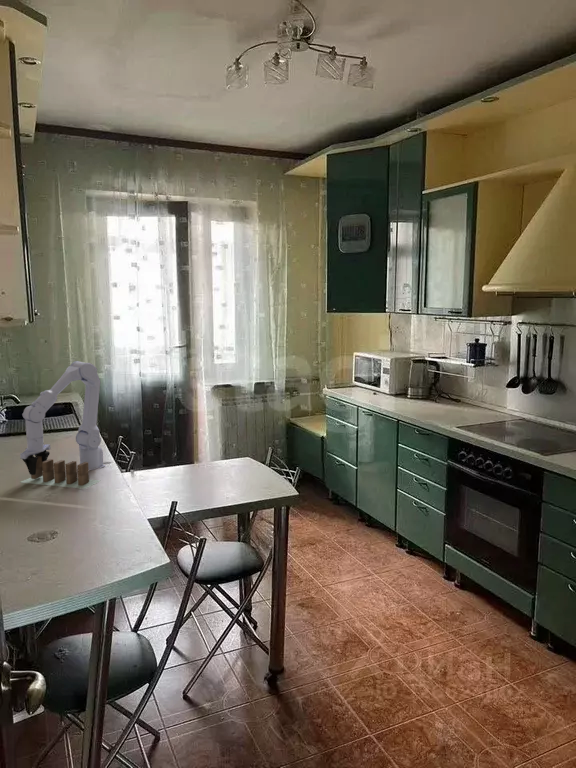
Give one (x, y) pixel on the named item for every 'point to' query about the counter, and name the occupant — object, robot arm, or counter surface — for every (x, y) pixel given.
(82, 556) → the counter surface
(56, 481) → the domino
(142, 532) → the counter surface
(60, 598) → the counter surface
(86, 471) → the domino end
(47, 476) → the domino
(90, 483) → the board
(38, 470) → the domino
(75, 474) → the domino
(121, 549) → the counter surface
